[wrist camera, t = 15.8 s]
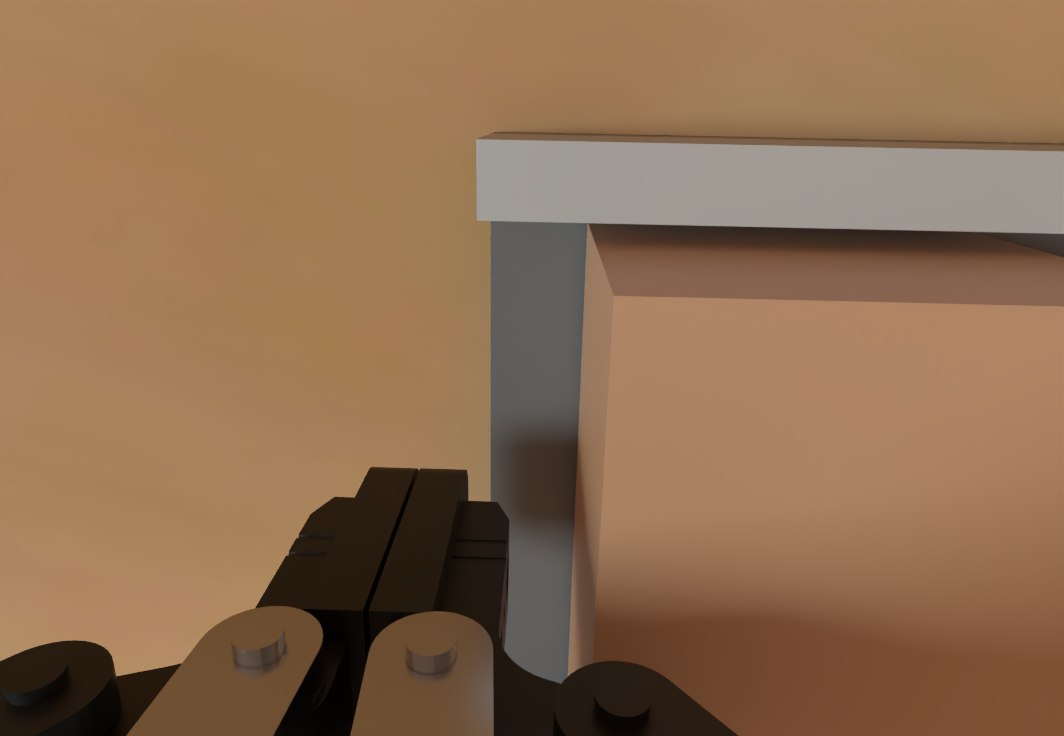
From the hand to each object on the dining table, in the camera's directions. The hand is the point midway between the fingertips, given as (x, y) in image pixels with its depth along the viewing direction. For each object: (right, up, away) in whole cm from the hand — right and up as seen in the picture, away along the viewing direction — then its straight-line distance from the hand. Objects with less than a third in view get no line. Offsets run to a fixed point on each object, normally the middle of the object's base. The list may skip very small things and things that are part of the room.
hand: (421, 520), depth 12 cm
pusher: (+6, 0, +2) cm, 6 cm away
